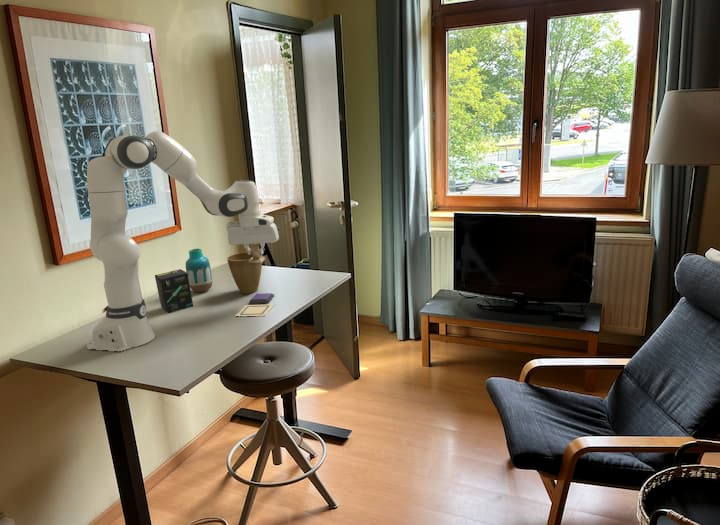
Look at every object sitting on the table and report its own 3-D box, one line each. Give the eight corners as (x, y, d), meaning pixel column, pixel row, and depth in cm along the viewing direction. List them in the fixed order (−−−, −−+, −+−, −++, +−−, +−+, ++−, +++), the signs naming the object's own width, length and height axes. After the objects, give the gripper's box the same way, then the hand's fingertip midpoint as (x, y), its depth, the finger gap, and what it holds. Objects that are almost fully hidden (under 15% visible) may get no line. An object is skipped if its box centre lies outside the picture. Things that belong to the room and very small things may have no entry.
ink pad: (249, 304, 213) (249, 299, 212) (256, 297, 221) (255, 293, 220) (268, 303, 212) (268, 299, 211) (274, 296, 219) (273, 292, 219)
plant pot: (253, 297, 220) (247, 261, 216) (225, 295, 227) (219, 259, 223) (273, 286, 233) (268, 251, 229) (246, 284, 240) (241, 250, 235)
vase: (185, 294, 232) (177, 253, 227) (199, 286, 242) (192, 246, 237) (205, 295, 229) (198, 253, 224) (218, 287, 238) (212, 246, 233)
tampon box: (186, 301, 223) (180, 268, 219) (194, 306, 216) (188, 272, 212) (160, 308, 217) (153, 274, 213) (167, 313, 210) (160, 278, 206)
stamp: (249, 264, 210) (245, 243, 208) (253, 261, 215) (250, 240, 212) (261, 263, 209) (257, 242, 207) (265, 260, 214) (261, 239, 212)
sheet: (234, 317, 200) (234, 316, 200) (245, 305, 211) (245, 304, 211) (265, 316, 198) (265, 315, 198) (274, 304, 209) (274, 304, 209)
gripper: (222, 223, 206) (228, 257, 209) (272, 220, 203) (277, 254, 206) (228, 220, 212) (234, 253, 215) (277, 217, 209) (282, 250, 212)
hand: (255, 253), depth 211 cm, fingers closed on stamp, 3 cm apart
